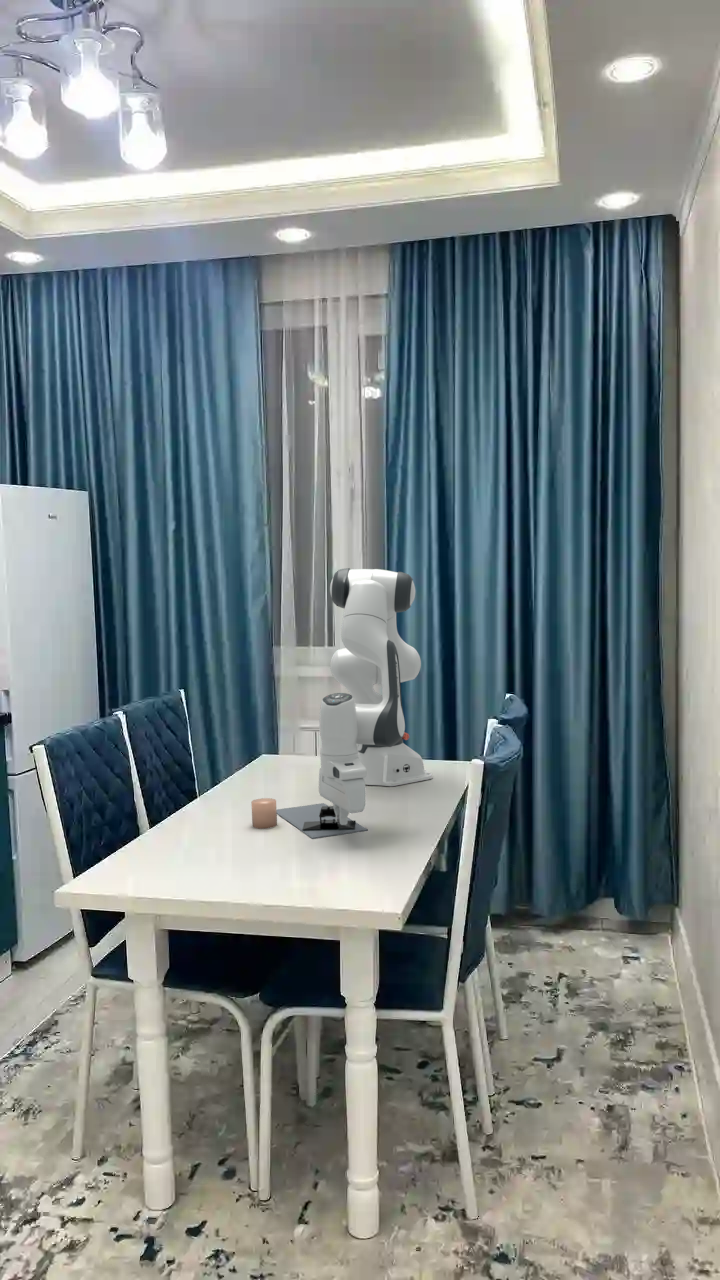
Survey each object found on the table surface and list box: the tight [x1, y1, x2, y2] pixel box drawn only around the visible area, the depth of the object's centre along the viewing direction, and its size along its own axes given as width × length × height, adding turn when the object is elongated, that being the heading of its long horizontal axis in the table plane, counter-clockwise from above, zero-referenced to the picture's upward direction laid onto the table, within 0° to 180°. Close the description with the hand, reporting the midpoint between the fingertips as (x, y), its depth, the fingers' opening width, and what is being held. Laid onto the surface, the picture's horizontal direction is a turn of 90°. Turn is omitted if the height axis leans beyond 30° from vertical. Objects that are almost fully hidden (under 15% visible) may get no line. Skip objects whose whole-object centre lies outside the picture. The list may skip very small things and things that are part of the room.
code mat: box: [276, 802, 368, 840], centre depth 247 cm, size 14×29×1 cm, turn 23°
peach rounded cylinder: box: [250, 797, 278, 830], centre depth 244 cm, size 6×6×6 cm
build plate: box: [301, 805, 357, 832], centre depth 240 cm, size 12×7×5 cm, turn 88°
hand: (341, 823), depth 233 cm, fingers closed
